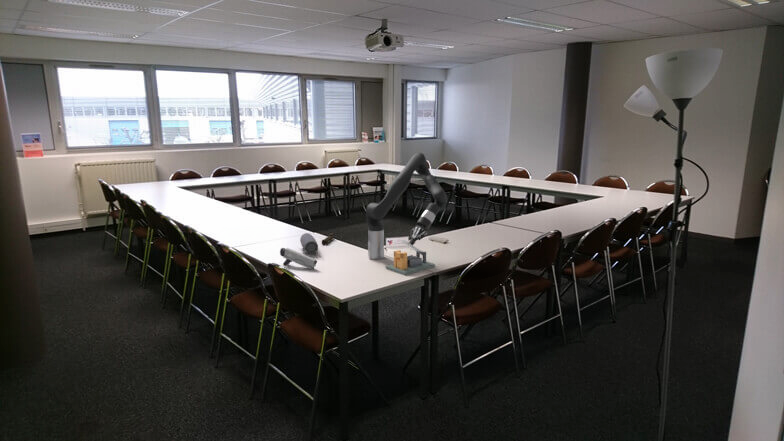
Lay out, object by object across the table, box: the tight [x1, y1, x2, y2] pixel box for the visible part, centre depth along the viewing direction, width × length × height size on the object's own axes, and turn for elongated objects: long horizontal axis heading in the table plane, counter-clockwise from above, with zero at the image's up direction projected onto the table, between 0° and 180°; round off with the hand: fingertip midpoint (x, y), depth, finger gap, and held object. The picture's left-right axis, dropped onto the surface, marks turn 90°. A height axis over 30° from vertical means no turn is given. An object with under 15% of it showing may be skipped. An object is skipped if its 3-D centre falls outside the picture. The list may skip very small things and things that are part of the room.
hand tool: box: [321, 232, 334, 246], centre depth 319 cm, size 19×4×5 cm, turn 167°
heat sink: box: [407, 254, 423, 268], centre depth 260 cm, size 9×9×4 cm
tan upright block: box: [393, 249, 408, 270], centre depth 254 cm, size 4×7×9 cm, turn 41°
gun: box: [279, 247, 318, 270], centre depth 263 cm, size 2×25×10 cm, turn 63°
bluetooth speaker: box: [299, 232, 319, 255], centre depth 294 cm, size 23×9×10 cm, turn 18°
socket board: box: [385, 251, 436, 276], centre depth 259 cm, size 23×16×8 cm
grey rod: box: [401, 240, 424, 256], centre depth 259 cm, size 2×3×17 cm
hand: (410, 244), depth 257 cm, fingers closed
